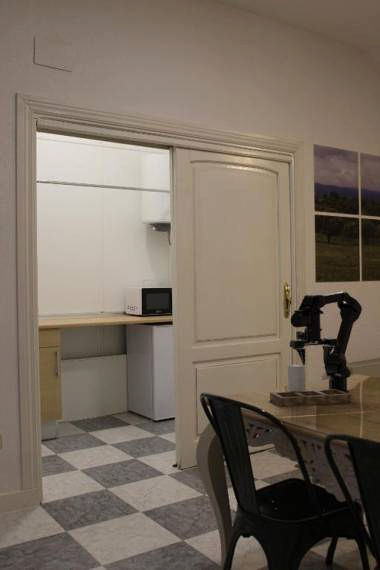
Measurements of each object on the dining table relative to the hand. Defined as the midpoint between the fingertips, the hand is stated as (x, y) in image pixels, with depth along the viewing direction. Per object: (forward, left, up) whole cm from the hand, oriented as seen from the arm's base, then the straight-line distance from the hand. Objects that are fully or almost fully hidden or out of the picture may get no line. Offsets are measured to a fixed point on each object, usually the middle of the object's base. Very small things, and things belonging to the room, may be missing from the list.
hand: (314, 364), depth 234 cm
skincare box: (+6, -3, -13) cm, 15 cm away
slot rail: (+6, +10, -13) cm, 17 cm away
